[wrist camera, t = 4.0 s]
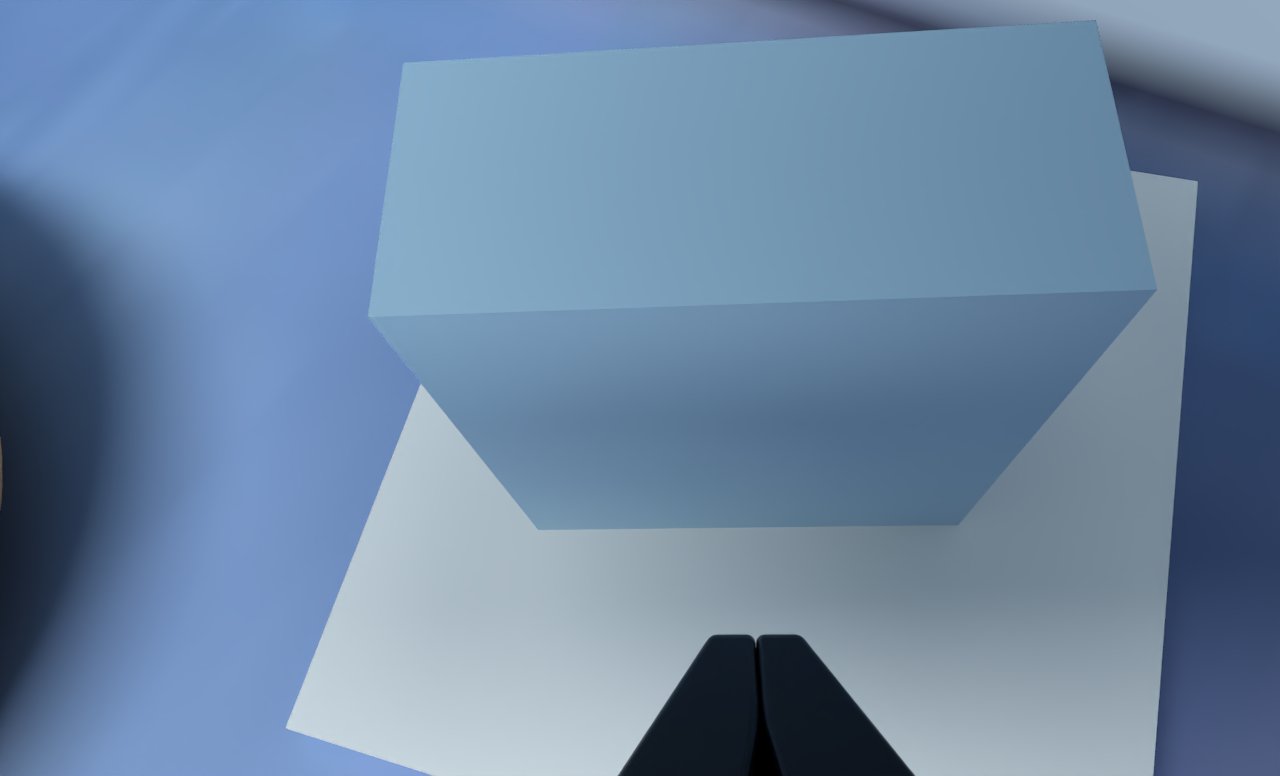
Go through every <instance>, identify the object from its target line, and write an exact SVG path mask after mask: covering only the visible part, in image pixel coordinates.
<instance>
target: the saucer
mask: <svg viewBox="0 0 1280 776" xmlns="http://www.w3.org/2000/svg"><path fill="white" fill-rule="evenodd" d="M1 497H2V450H1V438H0V509H1Z"/></svg>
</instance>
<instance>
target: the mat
mask: <svg viewBox="0 0 1280 776" xmlns="http://www.w3.org/2000/svg"><path fill="white" fill-rule="evenodd" d="M1130 172H1131V176H1132V181H1133V185H1134V190H1135V194H1136V198H1137V203H1138V207H1139V211H1140V216H1141V220H1142V225H1143V229H1144V233H1145V238H1146V242H1147V246H1148V251H1149V255H1150V260H1151V264H1152V268H1153V273H1154V277H1155V282H1156V286H1157V291H1156V292H1155V293H1154V294H1153V295H1152V297H1151V298H1150V299H1149V300H1148V301H1147V303H1146V304H1145V305H1144V306H1143V307H1142V308H1141V310H1140V311H1139V312H1138V313H1137V314H1136V316H1135V317H1134V318H1133V319H1132V320H1131V321H1130V323H1129V324H1128V325H1127V326H1126V327H1125V329H1124V330H1123V331H1122V332H1121V333H1120V334H1119V336H1118V337H1117V338H1116V339H1115V340H1114V342H1113V343H1112V344H1111V345H1110V346H1109V347H1108V349H1107V350H1106V351H1105V352H1104V353H1103V355H1102V356H1101V357H1100V358H1099V359H1098V360H1097V362H1096V363H1095V364H1094V365H1093V366H1092V368H1091V369H1090V370H1089V371H1088V372H1087V373H1086V375H1085V376H1084V377H1083V378H1082V379H1081V381H1080V382H1079V383H1078V384H1077V385H1076V386H1075V388H1074V389H1073V390H1072V391H1071V392H1070V394H1069V395H1068V396H1067V397H1066V398H1065V399H1064V401H1063V402H1062V403H1061V404H1060V405H1059V407H1058V408H1057V409H1056V410H1055V411H1054V412H1053V414H1052V415H1051V416H1050V417H1049V418H1048V420H1047V421H1046V422H1045V423H1044V424H1043V425H1042V427H1041V428H1040V429H1039V430H1038V431H1037V433H1036V434H1035V435H1034V436H1033V437H1032V438H1031V440H1030V441H1029V442H1028V443H1027V444H1026V446H1025V447H1024V448H1023V449H1022V450H1021V451H1020V453H1019V454H1018V455H1017V456H1016V457H1015V459H1014V460H1013V461H1012V462H1011V463H1010V464H1009V466H1008V467H1007V468H1006V469H1005V470H1004V472H1003V473H1002V474H1001V475H1000V476H999V477H998V479H997V480H996V481H995V482H994V483H993V485H992V486H991V487H990V488H989V489H988V490H987V492H986V493H985V494H984V495H983V496H982V498H981V499H980V500H979V501H978V502H977V503H976V505H975V506H974V507H973V508H972V509H971V511H970V512H969V513H968V514H967V515H966V517H965V518H964V519H963V520H962V521H961V522H960V524H959V525H914V526H832V527H749V528H667V529H584V530H538V529H537V528H536V527H535V525H534V524H533V523H532V522H531V520H530V519H529V518H528V517H527V515H526V514H525V513H524V512H523V510H522V509H521V508H520V507H519V505H518V504H517V503H516V502H515V500H514V499H513V498H512V497H511V495H510V494H509V493H508V492H507V490H506V489H505V488H504V487H503V485H502V484H501V483H500V482H499V480H498V479H497V478H496V477H495V475H494V474H493V473H492V472H491V470H490V469H489V468H488V467H487V465H486V464H485V463H484V462H483V460H482V459H481V458H480V457H479V455H478V454H477V453H476V452H475V450H474V449H473V448H472V447H471V445H470V444H469V443H468V442H467V440H466V439H465V438H464V437H463V435H462V434H461V433H460V432H459V430H458V429H457V428H456V427H455V425H454V424H453V423H452V422H451V420H450V419H449V418H448V417H447V415H446V414H445V413H444V412H443V410H442V409H441V408H440V407H439V405H438V404H437V403H436V402H435V400H434V399H433V398H432V397H431V395H430V394H429V393H428V392H427V390H426V389H425V388H424V387H423V385H422V384H420V387H419V390H418V392H417V395H416V397H415V400H414V402H413V405H412V407H411V410H410V412H409V415H408V418H407V420H406V423H405V425H404V428H403V430H402V433H401V435H400V438H399V441H398V443H397V446H396V448H395V451H394V453H393V456H392V458H391V461H390V463H389V466H388V469H387V471H386V474H385V476H384V479H383V481H382V484H381V486H380V489H379V492H378V494H377V497H376V499H375V502H374V504H373V507H372V509H371V512H370V514H369V517H368V520H367V522H366V525H365V527H364V530H363V532H362V535H361V537H360V540H359V542H358V545H357V548H356V550H355V553H354V555H353V558H352V560H351V563H350V565H349V568H348V571H347V573H346V576H345V578H344V581H343V583H342V586H341V588H340V591H339V593H338V596H337V599H336V601H335V604H334V606H333V609H332V611H331V614H330V616H329V619H328V621H327V624H326V627H325V629H324V632H323V634H322V637H321V639H320V642H319V644H318V647H317V650H316V652H315V655H314V657H313V660H312V662H311V665H310V667H309V670H308V672H307V675H306V678H305V680H304V683H303V685H302V688H301V690H300V693H299V695H298V698H297V700H296V703H295V706H294V708H293V711H292V713H291V716H290V718H289V721H288V723H287V726H286V729H289V730H293V731H296V732H299V733H302V734H305V735H308V736H311V737H314V738H318V739H321V740H324V741H327V742H330V743H333V744H336V745H339V746H343V747H346V748H349V749H352V750H355V751H358V752H361V753H364V754H368V755H371V756H374V757H377V758H380V759H383V760H386V761H389V762H393V763H396V764H399V765H402V766H405V767H408V768H411V769H414V770H418V771H421V772H424V773H427V774H430V775H433V776H618V774H619V773H620V771H621V770H622V768H623V767H624V765H625V764H626V762H627V761H628V759H629V758H630V756H631V755H632V753H633V752H634V750H635V748H636V747H637V745H638V744H639V742H640V741H641V739H642V738H643V736H644V735H645V733H646V732H647V730H648V729H649V727H650V726H651V724H652V723H653V721H654V720H655V718H656V717H657V715H658V714H659V712H660V711H661V709H662V708H663V706H664V705H665V703H666V701H667V700H668V698H669V697H670V695H671V694H672V692H673V691H674V689H675V688H676V686H677V685H678V683H679V682H680V680H681V679H682V677H683V676H684V674H685V673H686V671H687V670H688V668H689V667H690V665H691V664H692V662H693V661H694V659H695V658H696V656H697V654H698V653H699V651H700V650H701V648H702V647H703V645H704V644H705V642H706V641H707V640H708V638H709V637H711V636H712V635H716V634H748V635H751V636H752V637H753V638H754V639H755V643H756V640H757V638H758V637H759V636H760V635H763V634H797V635H800V636H801V637H803V638H804V639H805V640H806V642H807V643H808V644H809V645H810V646H811V648H812V649H813V650H814V651H815V653H816V654H817V655H818V656H819V658H820V659H821V660H822V661H823V662H824V664H825V665H826V666H827V667H828V669H829V670H830V671H831V672H832V674H833V675H834V676H835V677H836V679H837V680H838V681H839V682H840V683H841V685H842V686H843V687H844V688H845V690H846V691H847V692H848V693H849V695H850V696H851V697H852V698H853V700H854V701H855V702H856V703H857V704H858V706H859V707H860V708H861V709H862V711H863V712H864V713H865V714H866V716H867V717H868V718H869V719H870V720H871V722H872V723H873V724H874V725H875V727H876V728H877V729H878V730H879V732H880V733H881V734H882V735H883V737H884V738H885V739H886V740H887V741H888V743H889V744H890V745H891V746H892V748H893V749H894V750H895V751H896V753H897V754H898V755H899V756H900V758H901V759H902V760H903V761H904V762H905V764H906V765H907V766H908V767H909V769H910V770H911V771H912V772H913V774H914V775H915V776H1153V771H1154V758H1155V745H1156V732H1157V718H1158V705H1159V692H1160V679H1161V665H1162V652H1163V639H1164V625H1165V612H1166V599H1167V586H1168V572H1169V559H1170V546H1171V533H1172V519H1173V506H1174V493H1175V479H1176V466H1177V453H1178V440H1179V426H1180V413H1181V400H1182V387H1183V373H1184V360H1185V347H1186V333H1187V320H1188V307H1189V294H1190V280H1191V267H1192V254H1193V241H1194V227H1195V214H1196V201H1197V187H1198V181H1192V180H1186V179H1180V178H1173V177H1167V176H1161V175H1154V174H1148V173H1142V172H1135V171H1130Z"/></svg>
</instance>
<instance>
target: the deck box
mask: <svg viewBox="0 0 1280 776" xmlns="http://www.w3.org/2000/svg"><path fill="white" fill-rule="evenodd" d="M1156 291H1157V286H1156V282H1155V277H1154V273H1153V268H1152V264H1151V260H1150V255H1149V251H1148V246H1147V242H1146V238H1145V233H1144V229H1143V225H1142V220H1141V216H1140V211H1139V207H1138V203H1137V198H1136V194H1135V190H1134V185H1133V181H1132V176H1131V172H1130V168H1129V163H1128V159H1127V154H1126V150H1125V146H1124V141H1123V137H1122V133H1121V128H1120V124H1119V119H1118V115H1117V111H1116V106H1115V102H1114V98H1113V93H1112V89H1111V84H1110V80H1109V76H1108V71H1107V67H1106V62H1105V58H1104V54H1103V49H1102V45H1101V41H1100V36H1099V32H1098V27H1097V23H1096V20H1092V21H1076V22H1060V23H1044V24H1027V25H1011V26H995V27H979V28H962V29H946V30H930V31H914V32H897V33H881V34H865V35H848V36H832V37H816V38H800V39H783V40H767V41H751V42H735V43H718V44H702V45H686V46H669V47H653V48H637V49H621V50H604V51H588V52H572V53H556V54H539V55H523V56H507V57H491V58H474V59H458V60H442V61H425V62H409V63H403V70H402V77H401V84H400V91H399V98H398V105H397V112H396V119H395V127H394V134H393V141H392V148H391V155H390V162H389V169H388V177H387V184H386V191H385V198H384V205H383V212H382V219H381V226H380V234H379V241H378V248H377V255H376V262H375V269H374V276H373V283H372V291H371V298H370V305H369V312H368V318H369V319H370V321H371V322H372V323H373V324H374V326H375V327H376V328H377V329H378V331H379V332H380V333H381V334H382V336H383V337H384V338H385V339H386V341H387V342H388V343H389V344H390V346H391V347H392V348H393V349H394V351H395V352H396V353H397V354H398V356H399V357H400V358H401V359H402V361H403V362H404V363H405V364H406V366H407V367H408V368H409V369H410V371H411V372H412V373H413V374H414V376H415V377H416V378H417V379H418V381H419V382H420V383H421V384H422V385H423V387H424V388H425V389H426V390H427V392H428V393H429V394H430V395H431V397H432V398H433V399H434V400H435V402H436V403H437V404H438V405H439V407H440V408H441V409H442V410H443V412H444V413H445V414H446V415H447V417H448V418H449V419H450V420H451V422H452V423H453V424H454V425H455V427H456V428H457V429H458V430H459V432H460V433H461V434H462V435H463V437H464V438H465V439H466V440H467V442H468V443H469V444H470V445H471V447H472V448H473V449H474V450H475V452H476V453H477V454H478V455H479V457H480V458H481V459H482V460H483V462H484V463H485V464H486V465H487V467H488V468H489V469H490V470H491V472H492V473H493V474H494V475H495V477H496V478H497V479H498V480H499V482H500V483H501V484H502V485H503V487H504V488H505V489H506V490H507V492H508V493H509V494H510V495H511V497H512V498H513V499H514V500H515V502H516V503H517V504H518V505H519V507H520V508H521V509H522V510H523V512H524V513H525V514H526V515H527V517H528V518H529V519H530V520H531V522H532V523H533V524H534V525H535V527H536V528H537V529H538V530H584V529H667V528H749V527H832V526H914V525H959V524H960V522H961V521H962V520H963V519H964V518H965V517H966V515H967V514H968V513H969V512H970V511H971V509H972V508H973V507H974V506H975V505H976V503H977V502H978V501H979V500H980V499H981V498H982V496H983V495H984V494H985V493H986V492H987V490H988V489H989V488H990V487H991V486H992V485H993V483H994V482H995V481H996V480H997V479H998V477H999V476H1000V475H1001V474H1002V473H1003V472H1004V470H1005V469H1006V468H1007V467H1008V466H1009V464H1010V463H1011V462H1012V461H1013V460H1014V459H1015V457H1016V456H1017V455H1018V454H1019V453H1020V451H1021V450H1022V449H1023V448H1024V447H1025V446H1026V444H1027V443H1028V442H1029V441H1030V440H1031V438H1032V437H1033V436H1034V435H1035V434H1036V433H1037V431H1038V430H1039V429H1040V428H1041V427H1042V425H1043V424H1044V423H1045V422H1046V421H1047V420H1048V418H1049V417H1050V416H1051V415H1052V414H1053V412H1054V411H1055V410H1056V409H1057V408H1058V407H1059V405H1060V404H1061V403H1062V402H1063V401H1064V399H1065V398H1066V397H1067V396H1068V395H1069V394H1070V392H1071V391H1072V390H1073V389H1074V388H1075V386H1076V385H1077V384H1078V383H1079V382H1080V381H1081V379H1082V378H1083V377H1084V376H1085V375H1086V373H1087V372H1088V371H1089V370H1090V369H1091V368H1092V366H1093V365H1094V364H1095V363H1096V362H1097V360H1098V359H1099V358H1100V357H1101V356H1102V355H1103V353H1104V352H1105V351H1106V350H1107V349H1108V347H1109V346H1110V345H1111V344H1112V343H1113V342H1114V340H1115V339H1116V338H1117V337H1118V336H1119V334H1120V333H1121V332H1122V331H1123V330H1124V329H1125V327H1126V326H1127V325H1128V324H1129V323H1130V321H1131V320H1132V319H1133V318H1134V317H1135V316H1136V314H1137V313H1138V312H1139V311H1140V310H1141V308H1142V307H1143V306H1144V305H1145V304H1146V303H1147V301H1148V300H1149V299H1150V298H1151V297H1152V295H1153V294H1154V293H1155V292H1156Z"/></svg>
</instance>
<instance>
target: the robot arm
mask: <svg viewBox="0 0 1280 776" xmlns="http://www.w3.org/2000/svg"><path fill="white" fill-rule="evenodd" d="M618 776H915V775H914V774H913V772H912V771H911V770H910V769H909V767H908V766H907V765H906V764H905V762H904V761H903V760H902V759H901V758H900V756H899V755H898V754H897V753H896V751H895V750H894V749H893V748H892V746H891V745H890V744H889V743H888V741H887V740H886V739H885V738H884V737H883V735H882V734H881V733H880V732H879V730H878V729H877V728H876V727H875V725H874V724H873V723H872V722H871V720H870V719H869V718H868V717H867V716H866V714H865V713H864V712H863V711H862V709H861V708H860V707H859V706H858V704H857V703H856V702H855V701H854V700H853V698H852V697H851V696H850V695H849V693H848V692H847V691H846V690H845V688H844V687H843V686H842V685H841V683H840V682H839V681H838V680H837V679H836V677H835V676H834V675H833V674H832V672H831V671H830V670H829V669H828V667H827V666H826V665H825V664H824V662H823V661H822V660H821V659H820V658H819V656H818V655H817V654H816V653H815V651H814V650H813V649H812V648H811V646H810V645H809V644H808V643H807V642H806V640H805V639H804V638H803V637H801V636H800V635H797V634H763V635H760V636H759V637H758V638H757V640H756V643H755V639H754V638H753V637H752V636H751V635H748V634H716V635H712V636H711V637H709V638H708V640H707V641H706V642H705V644H704V645H703V647H702V648H701V650H700V651H699V653H698V654H697V656H696V658H695V659H694V661H693V662H692V664H691V665H690V667H689V668H688V670H687V671H686V673H685V674H684V676H683V677H682V679H681V680H680V682H679V683H678V685H677V686H676V688H675V689H674V691H673V692H672V694H671V695H670V697H669V698H668V700H667V701H666V703H665V705H664V706H663V708H662V709H661V711H660V712H659V714H658V715H657V717H656V718H655V720H654V721H653V723H652V724H651V726H650V727H649V729H648V730H647V732H646V733H645V735H644V736H643V738H642V739H641V741H640V742H639V744H638V745H637V747H636V748H635V750H634V752H633V753H632V755H631V756H630V758H629V759H628V761H627V762H626V764H625V765H624V767H623V768H622V770H621V771H620V773H619V774H618Z"/></svg>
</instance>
